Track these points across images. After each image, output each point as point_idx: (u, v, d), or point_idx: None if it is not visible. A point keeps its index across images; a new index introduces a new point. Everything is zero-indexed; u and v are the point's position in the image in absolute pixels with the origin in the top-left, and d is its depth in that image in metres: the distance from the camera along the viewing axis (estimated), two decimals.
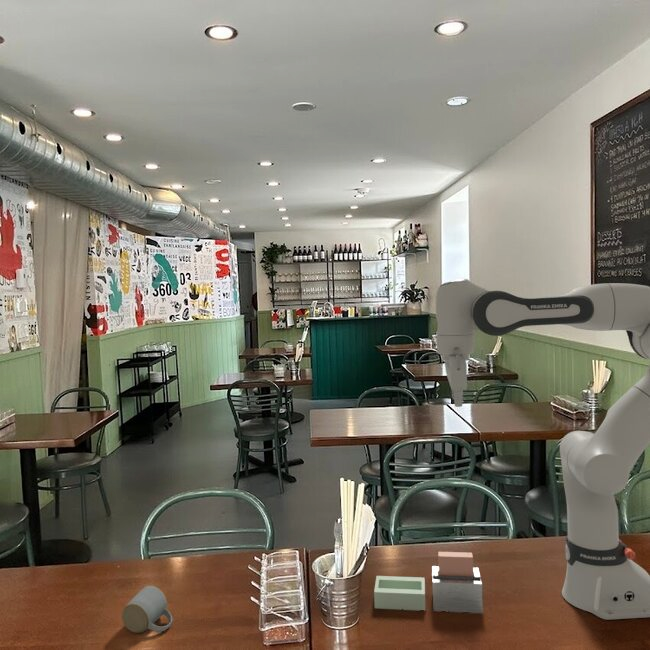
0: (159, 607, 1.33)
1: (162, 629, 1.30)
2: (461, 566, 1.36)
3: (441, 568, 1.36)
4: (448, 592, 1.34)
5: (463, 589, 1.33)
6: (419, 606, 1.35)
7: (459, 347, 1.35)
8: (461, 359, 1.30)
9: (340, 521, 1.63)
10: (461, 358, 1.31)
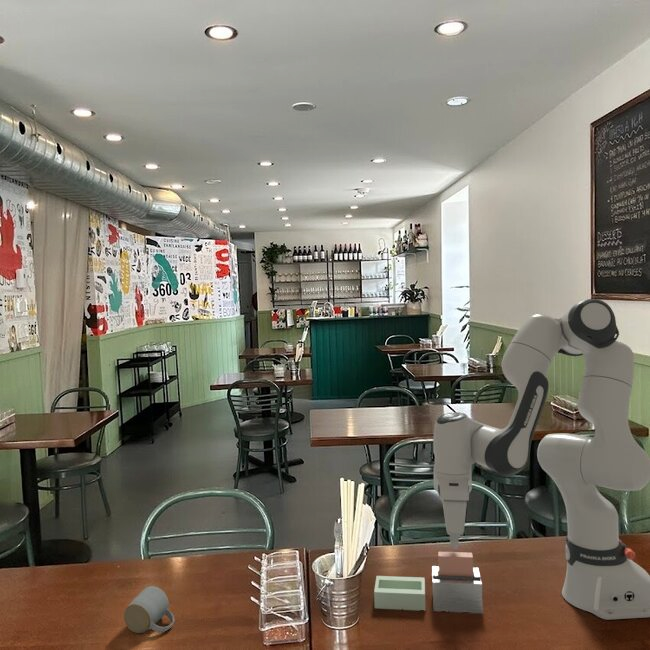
0: (161, 607, 1.33)
1: (164, 629, 1.30)
2: (461, 566, 1.36)
3: (441, 568, 1.36)
4: (448, 592, 1.34)
5: (463, 589, 1.33)
6: (419, 606, 1.35)
7: None
8: None
9: (340, 521, 1.63)
10: None
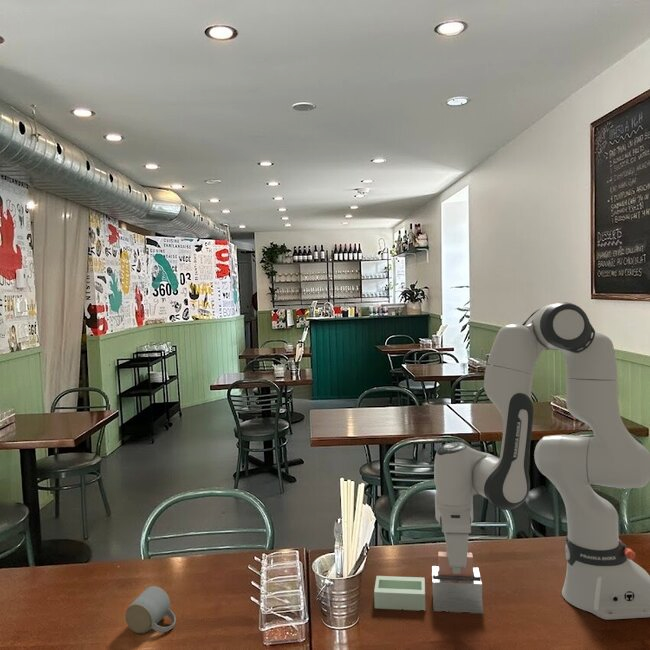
0: (162, 607, 1.33)
1: (165, 630, 1.30)
2: None
3: (441, 568, 1.36)
4: (448, 592, 1.34)
5: (463, 589, 1.33)
6: (419, 606, 1.35)
7: None
8: None
9: (340, 521, 1.63)
10: None
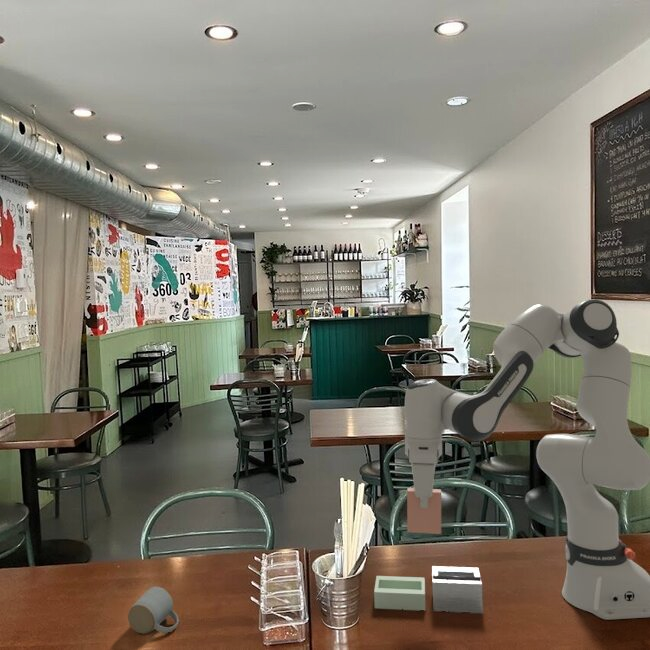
0: (165, 608, 1.33)
1: (168, 630, 1.30)
2: (429, 501, 1.36)
3: (410, 503, 1.37)
4: (448, 592, 1.34)
5: (463, 589, 1.33)
6: (419, 606, 1.35)
7: None
8: None
9: (340, 521, 1.63)
10: None
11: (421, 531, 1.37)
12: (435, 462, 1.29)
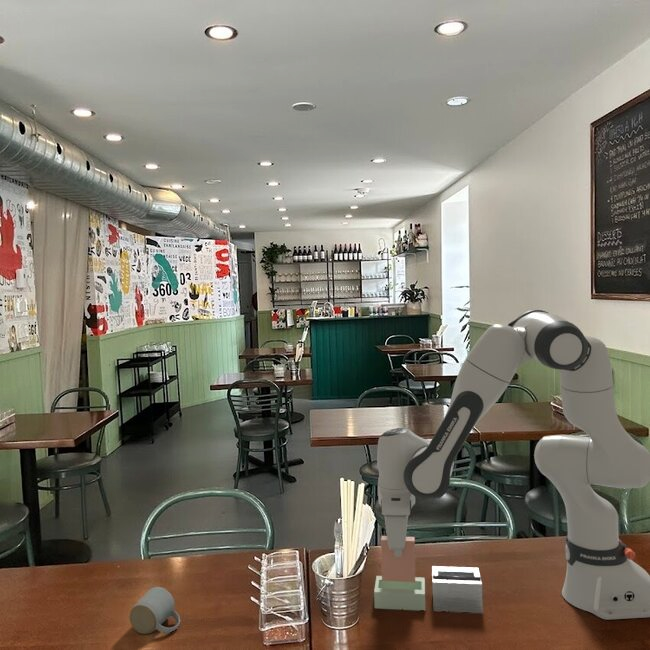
0: (167, 608, 1.33)
1: (170, 630, 1.30)
2: (403, 550, 1.37)
3: (384, 552, 1.38)
4: (448, 592, 1.34)
5: (463, 589, 1.33)
6: (419, 606, 1.35)
7: None
8: None
9: (340, 521, 1.63)
10: None
11: (395, 579, 1.38)
12: (407, 514, 1.29)
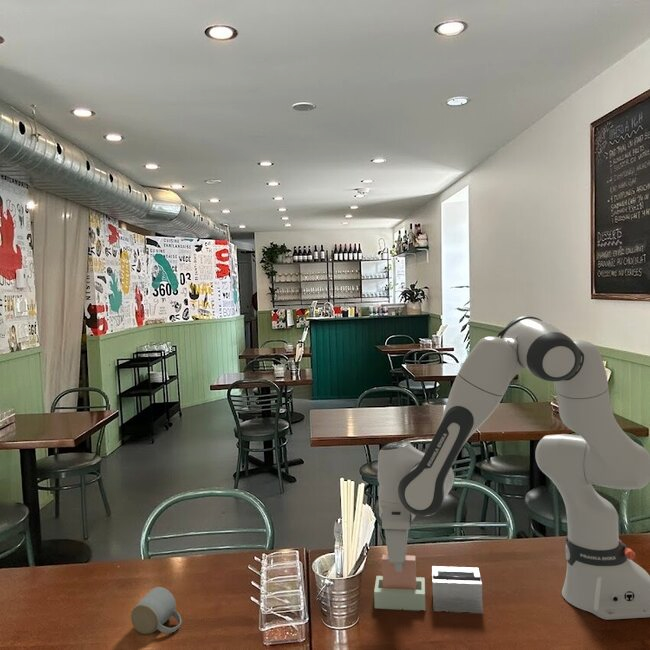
0: (168, 608, 1.33)
1: (171, 630, 1.30)
2: (404, 569, 1.38)
3: (385, 571, 1.39)
4: (448, 592, 1.34)
5: (463, 589, 1.33)
6: (419, 606, 1.35)
7: None
8: None
9: (340, 521, 1.63)
10: None
11: None
12: (407, 528, 1.30)
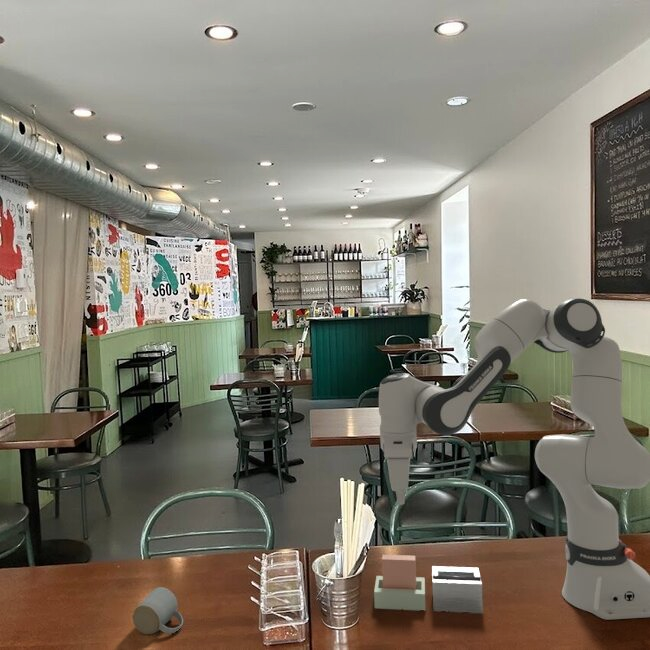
0: (170, 608, 1.33)
1: (173, 631, 1.29)
2: (404, 569, 1.38)
3: (385, 571, 1.39)
4: (448, 592, 1.34)
5: (463, 589, 1.33)
6: (419, 606, 1.35)
7: None
8: None
9: (340, 521, 1.63)
10: None
11: None
12: (410, 456, 1.30)
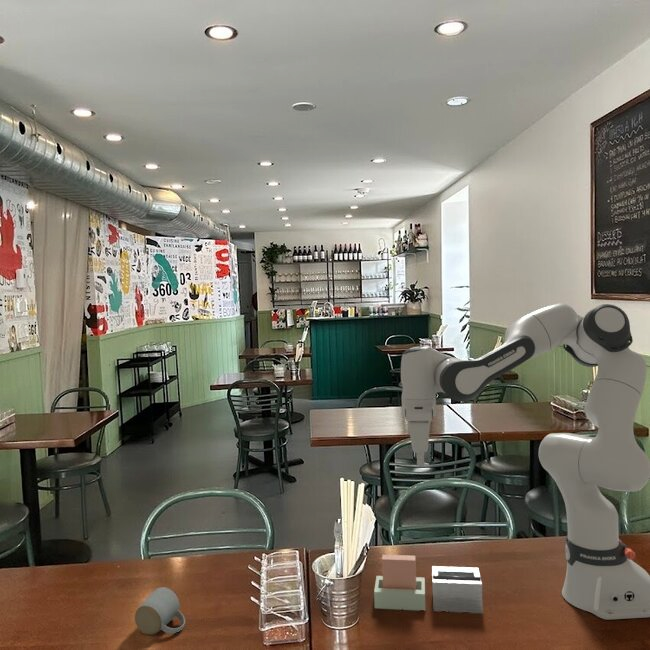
0: (172, 609, 1.32)
1: (175, 631, 1.29)
2: (404, 569, 1.38)
3: (385, 571, 1.39)
4: (448, 592, 1.34)
5: (463, 589, 1.33)
6: (419, 606, 1.35)
7: None
8: None
9: (340, 521, 1.63)
10: None
11: None
12: (430, 420, 1.41)
